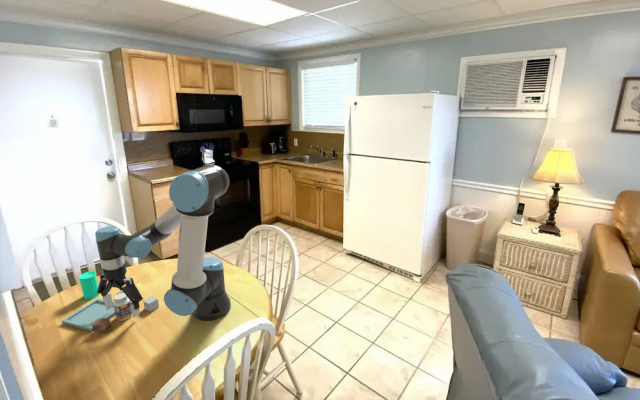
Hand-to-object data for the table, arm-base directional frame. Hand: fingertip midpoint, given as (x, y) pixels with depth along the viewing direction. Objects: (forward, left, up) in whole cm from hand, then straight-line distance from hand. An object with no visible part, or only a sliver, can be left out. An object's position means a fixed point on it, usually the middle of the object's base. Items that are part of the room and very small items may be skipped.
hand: (123, 311), depth 126 cm
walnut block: (+1, +8, -2) cm, 9 cm away
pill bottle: (0, 0, -3) cm, 3 cm away
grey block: (-6, -8, -2) cm, 10 cm away
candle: (+26, -7, -3) cm, 27 cm away
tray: (+12, +3, -2) cm, 12 cm away
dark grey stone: (+10, -9, -2) cm, 13 cm away
